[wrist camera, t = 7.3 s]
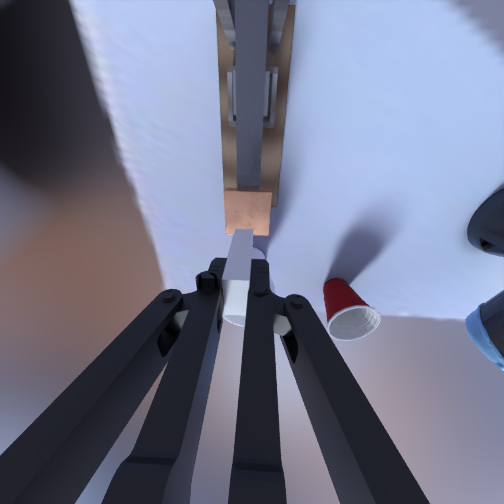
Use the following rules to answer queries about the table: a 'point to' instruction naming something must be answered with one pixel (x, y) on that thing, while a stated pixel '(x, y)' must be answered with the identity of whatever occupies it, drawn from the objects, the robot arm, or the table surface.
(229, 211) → the lever
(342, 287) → the plastic cup
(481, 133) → the table surface
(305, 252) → the table surface
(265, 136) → the press base
